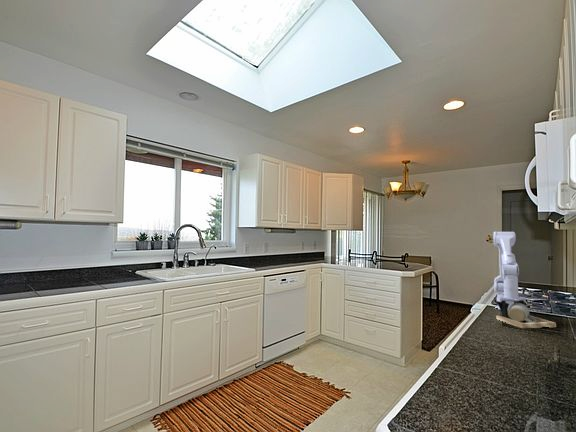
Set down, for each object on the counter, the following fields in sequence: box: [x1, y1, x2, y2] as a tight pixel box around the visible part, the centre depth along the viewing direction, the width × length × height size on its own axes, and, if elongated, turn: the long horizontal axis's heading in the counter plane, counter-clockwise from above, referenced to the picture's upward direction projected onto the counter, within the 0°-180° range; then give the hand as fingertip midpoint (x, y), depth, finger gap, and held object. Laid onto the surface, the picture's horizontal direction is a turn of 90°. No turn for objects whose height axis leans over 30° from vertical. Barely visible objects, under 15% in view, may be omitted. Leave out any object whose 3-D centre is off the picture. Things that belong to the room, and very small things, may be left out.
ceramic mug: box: [507, 303, 537, 323], centre depth 144 cm, size 11×8×8 cm
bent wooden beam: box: [495, 314, 557, 329], centre depth 141 cm, size 17×14×2 cm
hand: (511, 316), depth 148 cm, fingers open, 7 cm apart
